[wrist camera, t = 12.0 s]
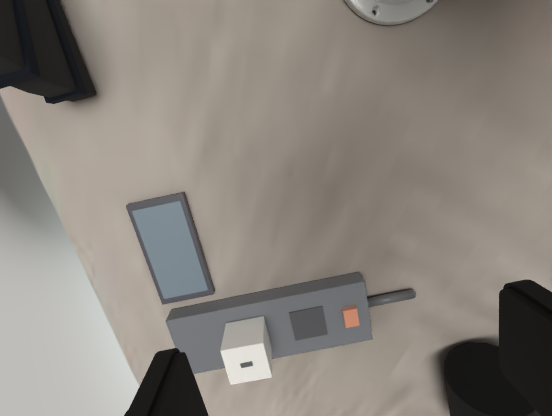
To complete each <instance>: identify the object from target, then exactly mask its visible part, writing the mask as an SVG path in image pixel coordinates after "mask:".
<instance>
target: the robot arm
mask: <svg viewBox="0 0 552 416" xmlns="http://www.w3.org/2000/svg"><path fill="white" fill-rule="evenodd" d="M427 1H428V2H426V0H345V2H346V3H347V4H348V6H349V7H350V8H351V9H352V10H353V11H354V12H355V13H356V14H357V15H359V16H360V17H362V18H364V19H365V20H367V21H370V22H373V23H376V24H380V25H397V24H402V23H405V22H408V21H411V20H413V19H415V18H417V17H418V16H420V15H422V14H423V13H425V12H426V11H427V10H429V9H430V8H431V7H432V6H433V5H434V4H435V3H436V2H437V1H438V0H427ZM372 11H374V12H375V15H373V14H372ZM499 366H500V369H501V371H502V373H503V375H504V376H505V377H506V379H507V380H508V381H509V382H510V383H511V384H512V385H513V386H514V387H515V388H516V389H517V390H518V392H519V393H520V394H521V395H522V396H523V397H524V398H525V399H526V400H527V401H528V402H529V403H530V404H531V406H532V407H533V408H534V409H535V410H536V411H537V412H538V413H539V414H540V415H541V416H552V292H550V291H549V290H547V289H545V288H544V287H542V286H541V285H539V284H537V283H536V282H534V281H532V280H521V281H516V282H511V283H507V284H505V285H504V288H503V290H501V291H500V293H499ZM124 416H208V413H207V410H206V407H205V405H204V402H203V399H202V396H201V394H200V391H199V388H198V385H197V383H196V380H195V377H194V374H193V372H192V369H191V366H190V363H189V361H188V358H187V355H186V353H185V352H180V350H179V349H178V348H174V349H169V350H164V351H159V352H157V353H156V354H155V356H154V358H153V360H152V362H151V364H150V366H149V368H148V371H147V373H146V375H145V377H144V379H143V381H142V383H141V385H140V387H139V389H138V391H137V394H136V395H135V398H134V400H133V402H132V404H131V406H130V408H129V410H128V411H127V412H126V413H125V415H124Z"/></svg>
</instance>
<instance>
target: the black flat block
mask: <svg viewBox="0 0 552 416" xmlns="http://www.w3.org/2000/svg"><path fill="white" fill-rule="evenodd" d="M8 86H12V87H15V88H17V89H20V90H23V91H25V92H28V93H32V94H36V95H41V96H44V98H45V101H46V103H52V104H55V103H59V102H62V101H66V100H67V101H76V100H80V99H83V98H87V97H90V96H94V95H95V94H96V92H95V90H94V87H93V85H92V82H91V80H90V77H89V75H88V72H87V70H86V67H85V65H84V62H83V60H82V57H81V55H80V52H79V50H78V47H77V45H76V43H75V40H74V38H73V35H72V33H71V30H70V28H69V25H68V23H67V20H66V18H65V15H64V13H63V10H62V8H61V5H60V3H59V0H0V89H1V88H4V87H8Z"/></svg>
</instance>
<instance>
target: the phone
mask: <svg viewBox="0 0 552 416" xmlns="http://www.w3.org/2000/svg"><path fill="white" fill-rule="evenodd" d="M126 208H127V210H128V213H129V216H130V218H131V221H132V224H133V227H134V229H135V232H136V235H137V237H138V240H139V243H140V245H141V248H142V251H143V254H144V256H145V259H146V262H147V264H148V267H149V270H150V272H151V275H152V278H153V281H154V283H155V286H156V289H157V291H158V294H159V297H160V299H161V302H162V305H163V304H168V303H173V302H178V301H183V300H188V299H193V298H198V297H203V296H208V295H213V294H214V291H215V290H214V286H213V283H212V280H211V277H210V273H209V270H208V267H207V264H206V260H205V257H204V254H203V251H202V247H201V244H200V241H199V238H198V234H197V231H196V228H195V225H194V221H193V218H192V215H191V212H190V208H189V205H188V202H187V199H186V195H185V192H181V193H176V194H172V195H167V196H162V197H158V198H153V199H148V200H144V201H139V202H134V203H130V204H128V205H126Z"/></svg>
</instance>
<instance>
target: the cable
mask: <svg viewBox="0 0 552 416" xmlns="http://www.w3.org/2000/svg"><path fill="white" fill-rule="evenodd" d="M444 375H445V382H446V389H447V396H448V402H449V409H450V416H541V415H540V414H539V413H538V412H537V411H536V410H535V409H534V408H533V407H532V406H531V404H530V403H529V402H528V401H527V400H526V399H525V398H524V397H523V396H522V395H521V394H520V393H519V392H518V390H517V389H516V388H515V387H514V386H513V385H512V384H511V383H510V382H509V381H508V380H507V379H506V377H505V376H504V375H503V373H502V371H501V369H500V366H499V347H498V346H494V345H490V344H487V343H468V344H465V345H462V346H459V347H456V348H455V349H454V350H452V351H451V352H450V353H449V354H448V356H447V358H446V360H445V367H444Z"/></svg>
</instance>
